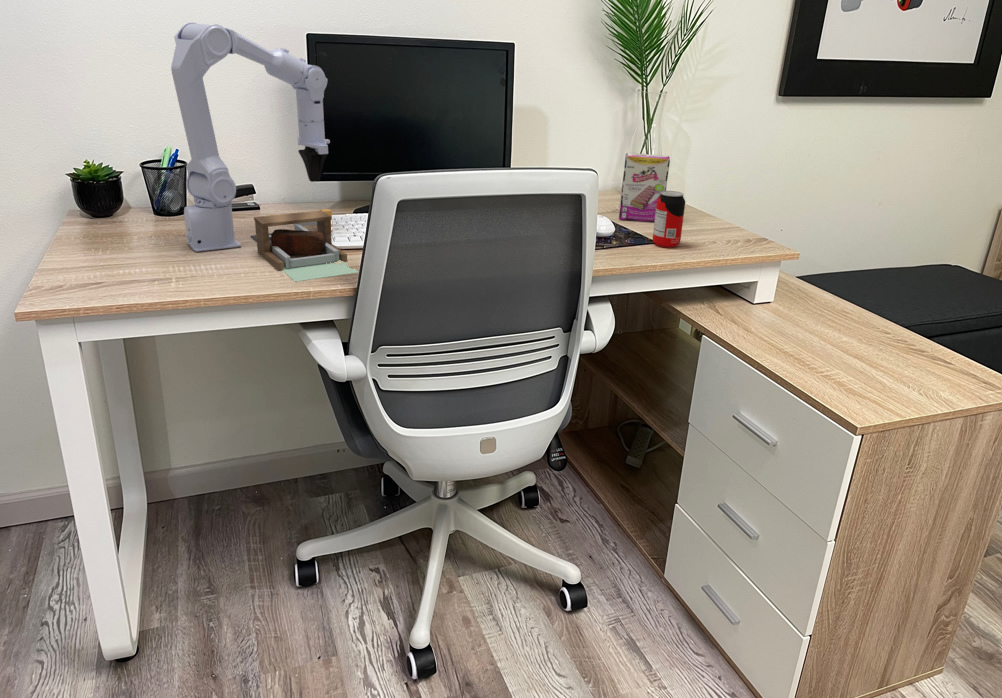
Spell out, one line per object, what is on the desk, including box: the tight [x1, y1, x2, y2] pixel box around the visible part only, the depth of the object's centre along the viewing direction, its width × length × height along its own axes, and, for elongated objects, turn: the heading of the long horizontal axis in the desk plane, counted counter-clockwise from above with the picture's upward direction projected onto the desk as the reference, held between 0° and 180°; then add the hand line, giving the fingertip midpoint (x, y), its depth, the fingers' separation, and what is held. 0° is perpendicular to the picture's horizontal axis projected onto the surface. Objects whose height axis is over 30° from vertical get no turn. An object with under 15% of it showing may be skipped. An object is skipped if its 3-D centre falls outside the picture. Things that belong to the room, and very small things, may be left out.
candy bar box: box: [618, 152, 671, 223], centre depth 198 cm, size 11×5×16 cm, turn 82°
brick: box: [271, 228, 326, 257], centre depth 162 cm, size 11×4×5 cm, turn 92°
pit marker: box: [250, 232, 273, 243], centre depth 174 cm, size 8×6×1 cm
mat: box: [281, 262, 359, 283], centre depth 154 cm, size 13×10×1 cm
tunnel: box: [253, 209, 348, 272], centre depth 160 cm, size 14×14×8 cm
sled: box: [269, 208, 339, 268], centre depth 167 cm, size 18×25×5 cm
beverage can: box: [652, 190, 686, 249], centre depth 177 cm, size 6×6×12 cm
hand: (314, 180), depth 182 cm, fingers closed
